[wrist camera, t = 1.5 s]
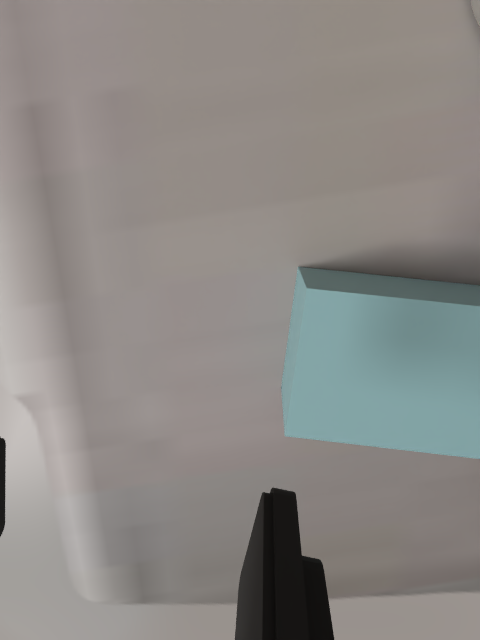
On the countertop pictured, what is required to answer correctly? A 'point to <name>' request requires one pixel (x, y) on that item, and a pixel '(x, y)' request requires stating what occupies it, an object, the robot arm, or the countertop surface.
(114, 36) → the countertop surface
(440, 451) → the carton
